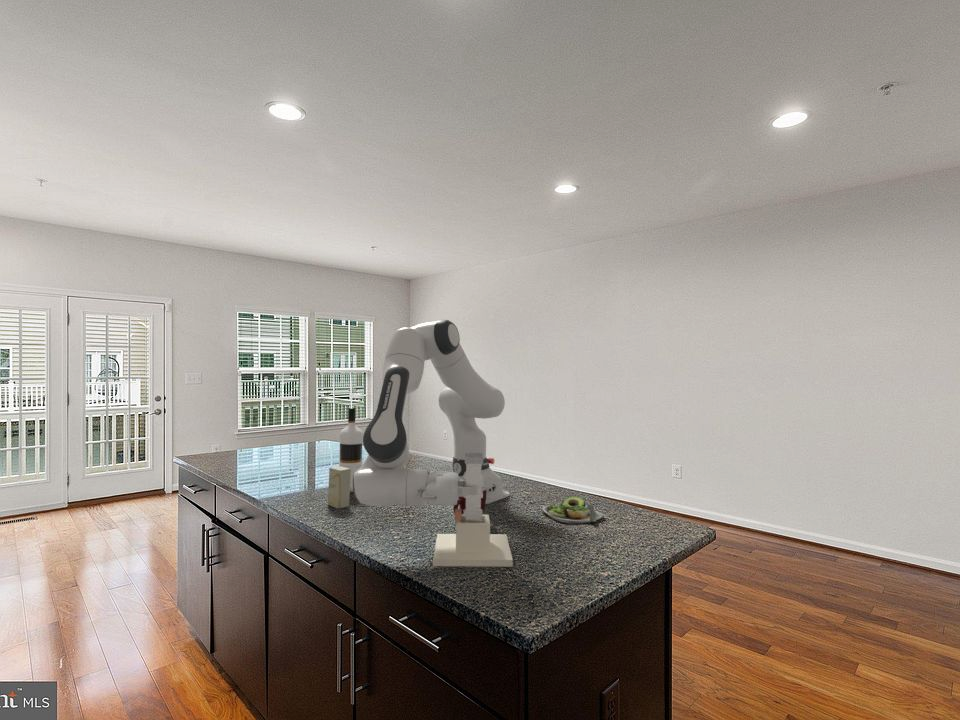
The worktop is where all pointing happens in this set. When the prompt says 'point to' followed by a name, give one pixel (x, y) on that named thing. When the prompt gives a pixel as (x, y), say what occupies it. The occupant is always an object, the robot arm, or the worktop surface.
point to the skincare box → (339, 487)
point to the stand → (472, 545)
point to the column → (473, 479)
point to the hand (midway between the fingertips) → (477, 488)
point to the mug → (463, 502)
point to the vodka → (351, 446)
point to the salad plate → (572, 511)
